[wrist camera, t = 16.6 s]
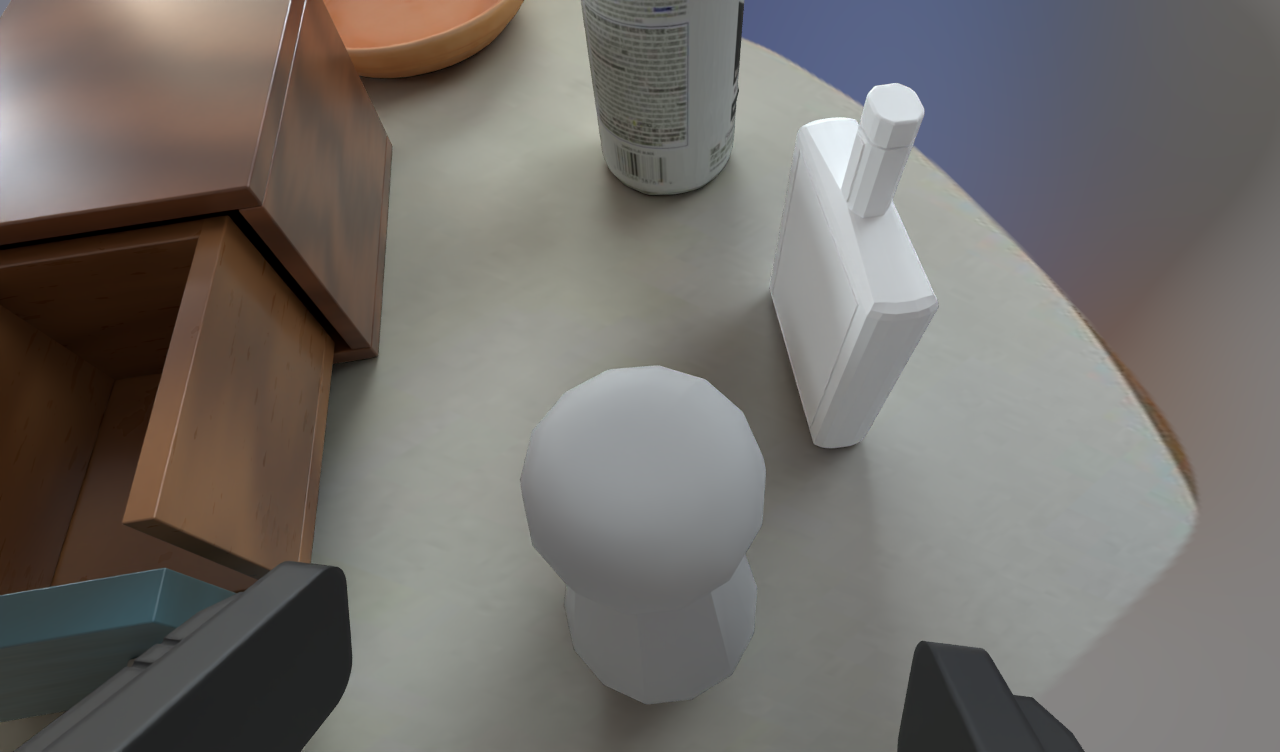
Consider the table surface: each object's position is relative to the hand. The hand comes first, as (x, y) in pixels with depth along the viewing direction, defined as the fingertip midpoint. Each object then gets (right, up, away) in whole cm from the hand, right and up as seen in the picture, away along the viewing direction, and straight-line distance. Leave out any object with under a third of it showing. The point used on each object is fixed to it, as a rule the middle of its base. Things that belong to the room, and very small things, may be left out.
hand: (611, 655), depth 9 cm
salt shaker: (+1, -4, +13) cm, 13 cm away
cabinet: (-18, +10, +22) cm, 30 cm away
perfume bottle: (+7, +4, +17) cm, 19 cm away
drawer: (-15, -3, +13) cm, 20 cm away
